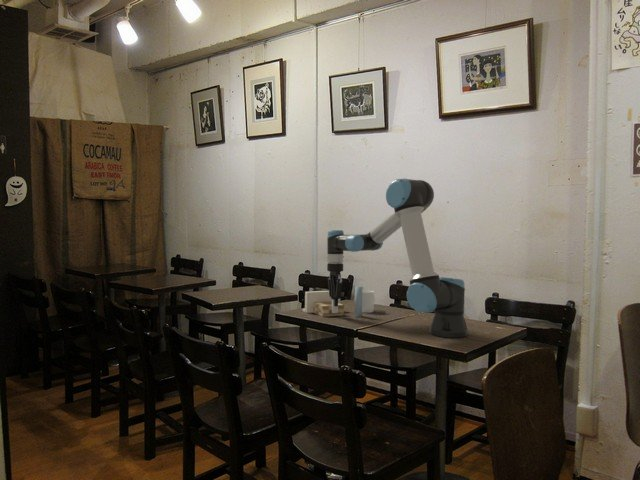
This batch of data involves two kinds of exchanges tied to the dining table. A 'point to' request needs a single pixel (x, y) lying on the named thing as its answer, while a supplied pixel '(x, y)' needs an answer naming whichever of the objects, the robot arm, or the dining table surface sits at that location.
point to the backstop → (316, 299)
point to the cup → (367, 301)
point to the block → (327, 309)
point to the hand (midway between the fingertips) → (334, 312)
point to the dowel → (358, 301)
